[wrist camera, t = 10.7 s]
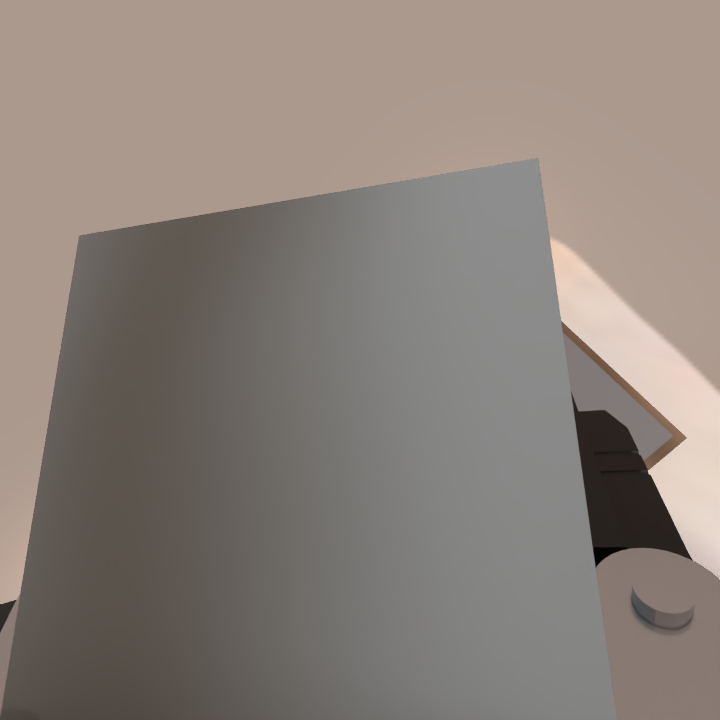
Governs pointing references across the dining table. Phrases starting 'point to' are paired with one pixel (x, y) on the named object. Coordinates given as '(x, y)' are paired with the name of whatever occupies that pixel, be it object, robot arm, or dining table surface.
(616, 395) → the plate
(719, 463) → the dining table surface
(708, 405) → the dining table surface
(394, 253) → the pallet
